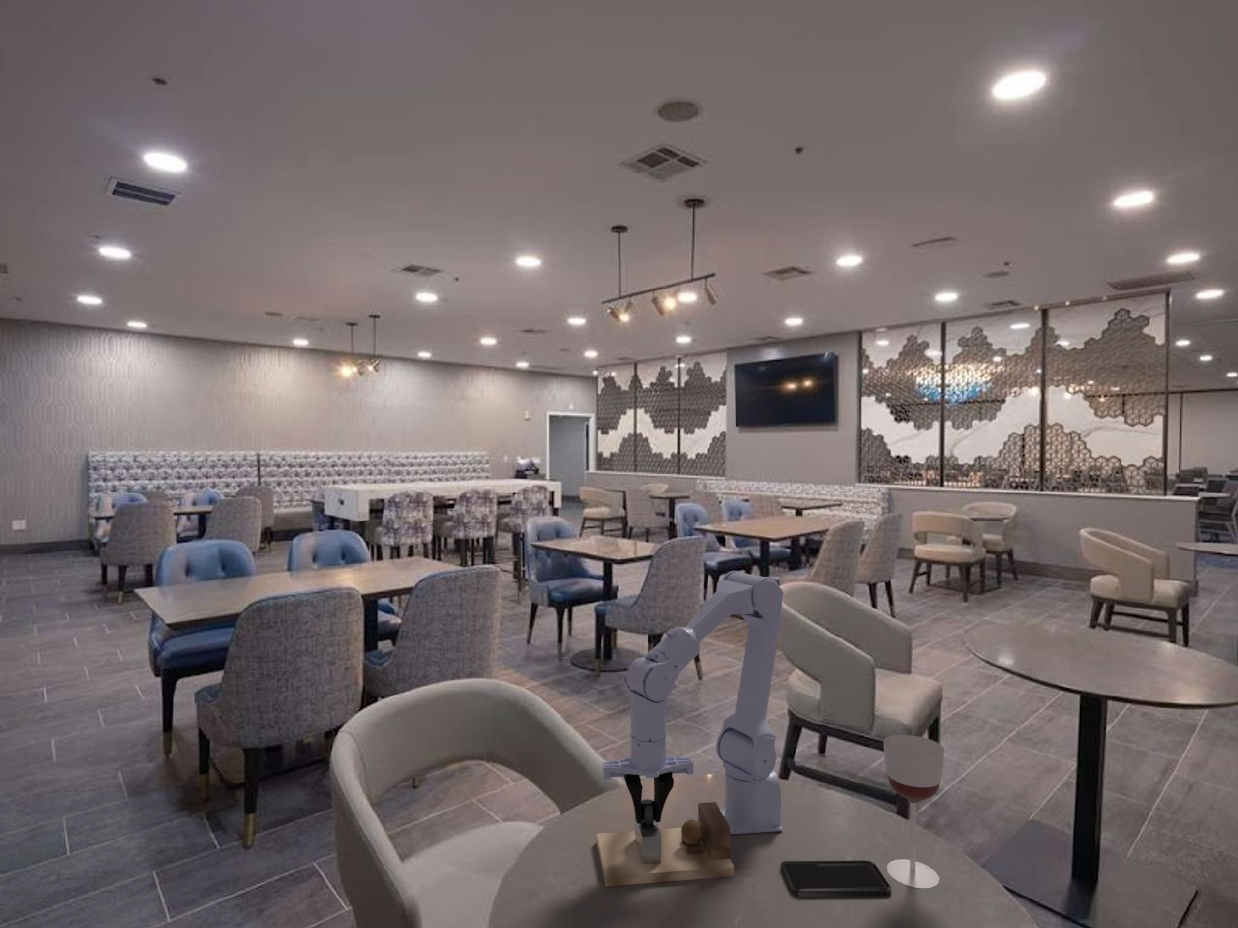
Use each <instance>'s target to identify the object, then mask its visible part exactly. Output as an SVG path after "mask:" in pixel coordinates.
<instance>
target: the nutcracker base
mask: <svg viewBox="0 0 1238 928" xmlns="http://www.w3.org/2000/svg"><path fill="white" fill-rule="evenodd" d="M697 805H698V806H697V807H698V808H697V811H698V812H697V814H698V816H697V819H698V820H697V821H698V822H699V823H700V824H701V826H702V828H703V838H702V840H701V841H700V842H699V843H698V844H695V845H690V844H688V843H686V842H685V841H684V840H683V838H682V835H681V828H682V827H670V828H659V831H660V834H661V862H653V863H642V861H641V857H640V854H639V851H638V848H637V844H636V841H635V830H629V831H617V832H615V831H614V832H602V833H601V832H600V833H599V832H598V833H596V846H597V852H598V857H599V861H600V865H601V871H602V876H603V880H604V885H605V887H606V888H608V887H618V886H619V887H621V886H633V885H634V886H635V885H643V884H655V883H667V882H680V881H691V880H692V881H693V880H694V881H695V880H705V879H715V878H717V879H718V878H729V877H735V865H734V863H733V862H732V859H731V834H730V826H729V824H728V823H727V821H726V819H725V817H724V816H723V814H722V812H721V811H720V809H721V808H720V807H719V805H718V804H717V802H716V801H711V802H698V804H697Z"/></svg>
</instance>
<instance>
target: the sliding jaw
mask: <svg viewBox="0 0 1238 928" xmlns="http://www.w3.org/2000/svg"><path fill="white" fill-rule="evenodd" d="M641 810H642V823H641V824H637V821H636V818H635V817H634V831H635V841H636V844H637V848H638V851H639V854H640V857H641V861H642V863H653V862H661V834H660V831H659V829H660V828H659V826H658V824H657V823H658V822H656V821H655V802H654V799H649V798H647V799H643V800H642V799H641Z"/></svg>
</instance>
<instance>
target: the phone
mask: <svg viewBox="0 0 1238 928" xmlns="http://www.w3.org/2000/svg"><path fill="white" fill-rule="evenodd" d="M780 871H781V873H782V875H783V877H784V880H785V882H786V884H787V887H788V889H789V891H790V893H791V894H792V895H793V896H795V897H797V898H843V897H844V898H845V897H846V898H852V897H853V898H855V897H856V898H858V897H859V898H863V897H864V898H865V897H866V898H868V897H872V898H873V897H874V898H875V897H881V898H882V897H889V896H891V895H892V887H891V885H890V883H889V882H888V881H887V878H885V876H884V875H883V874H882V872H881V871H880V869H879V868H878V866H877V865H876V864H875V863H874V862H873V861H870V860H784V861H782V862H780Z"/></svg>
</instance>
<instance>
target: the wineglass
mask: <svg viewBox="0 0 1238 928" xmlns="http://www.w3.org/2000/svg"><path fill="white" fill-rule="evenodd" d="M944 749H945V748H944V747H943V745H942V744H940V743H939V742H937V741H935V740H933V739H929V738H927V737H922V736H917V735H910V734H894V735H890V736H887V737H885V738H884V739H883V754H884V764H885V770H886V775H887V780H888V783H889V785H890V787H891V789H892V790H893V791H894V792H895V793H896V794H898V795H899V796H900V797H902V798H904V799H906V800H908V801H909V802H910V806H909V807H910V808H909V811H910V815H909V817H910V829H909V830H910V831H909V833H910V834H909V838H910V840H909V841H910V842H909V843H910V845H909V846H910V847H909V849H910V850H909V855H910V856H909V859H904V858H903V859H894V860H892V861H890V862H889V863H888V864H887V865H886V870H887V873H888V874H889V875H890V877H891V878H892V879H894V880H895V881H897V882H899V883H900V884H903V885H905V886H909V887H911V888H915V889H916V888H917V889H931V888H933V887H936V886H937V885H938V884H939V883H940V877H939V875H938V873H937V872H936V871H935V870H934V869H932V867H929V865H926V864H924V863H923V862H920V861H916V849H917V847H916V846H917V845H916V840H917V838H916V835H917V834H916V829H917V827H916V824H917V823H916V819H917V816H916V811H917V807H916V806H917V805H916V804H917V802H921V801H925V800H928V799H930V798H932V797H934V795H936V793H937V792H938V790H939V787H940V784H941V779H942V775H943V769H944V756H945V753H944V752H945V751H944Z"/></svg>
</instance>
